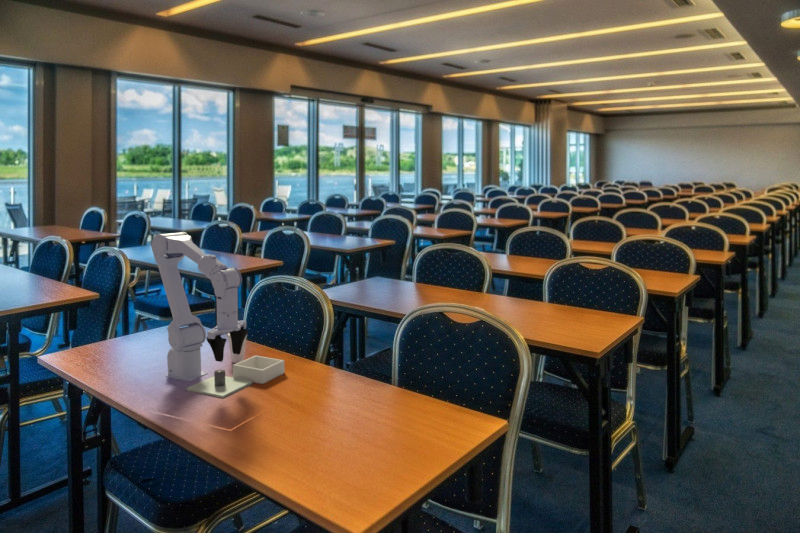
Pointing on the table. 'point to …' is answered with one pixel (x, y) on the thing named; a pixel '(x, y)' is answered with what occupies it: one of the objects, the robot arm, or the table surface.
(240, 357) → the smoothie
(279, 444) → the table surface
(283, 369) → the dish
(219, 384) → the lid
